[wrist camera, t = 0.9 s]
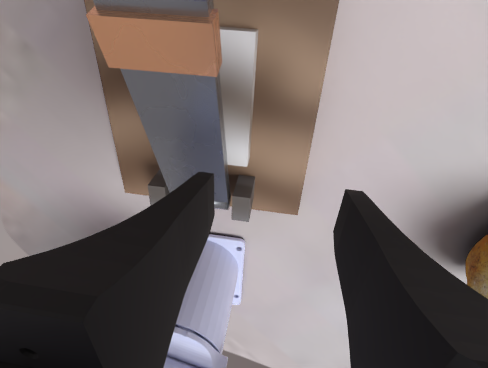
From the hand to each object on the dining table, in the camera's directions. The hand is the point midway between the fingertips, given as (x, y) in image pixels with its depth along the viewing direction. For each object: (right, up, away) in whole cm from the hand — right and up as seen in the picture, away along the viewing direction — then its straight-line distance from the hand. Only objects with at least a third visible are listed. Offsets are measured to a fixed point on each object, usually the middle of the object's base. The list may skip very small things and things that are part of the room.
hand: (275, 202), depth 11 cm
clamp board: (-3, +7, +9) cm, 12 cm away
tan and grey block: (-4, +4, +4) cm, 7 cm away
